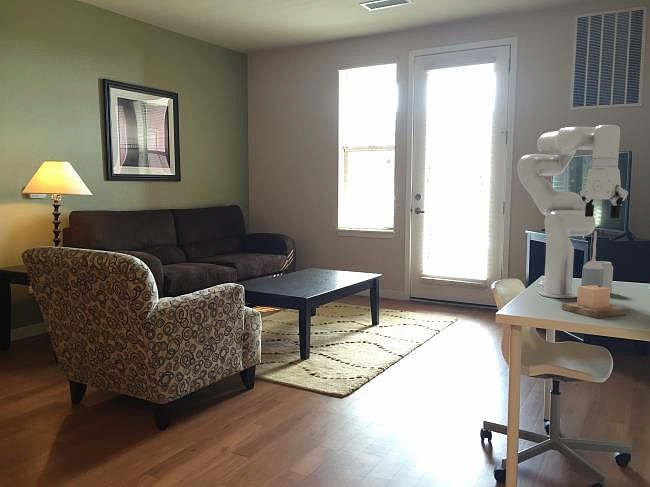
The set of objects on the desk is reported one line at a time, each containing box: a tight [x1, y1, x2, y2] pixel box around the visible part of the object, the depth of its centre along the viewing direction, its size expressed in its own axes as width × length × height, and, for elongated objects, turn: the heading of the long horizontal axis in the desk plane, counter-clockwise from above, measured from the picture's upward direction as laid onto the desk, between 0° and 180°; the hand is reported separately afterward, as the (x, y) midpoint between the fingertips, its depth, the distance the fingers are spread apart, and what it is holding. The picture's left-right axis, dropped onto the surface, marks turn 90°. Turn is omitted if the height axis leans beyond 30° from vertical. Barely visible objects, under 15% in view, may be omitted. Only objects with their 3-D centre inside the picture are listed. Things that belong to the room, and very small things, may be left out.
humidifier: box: [580, 230, 604, 287], centre depth 193 cm, size 8×8×25 cm
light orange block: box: [576, 285, 611, 309], centre depth 179 cm, size 6×8×7 cm
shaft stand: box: [561, 301, 626, 319], centre depth 179 cm, size 13×13×7 cm
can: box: [596, 260, 614, 293], centre depth 212 cm, size 8×8×12 cm
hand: (601, 217), depth 181 cm, fingers open, 9 cm apart
